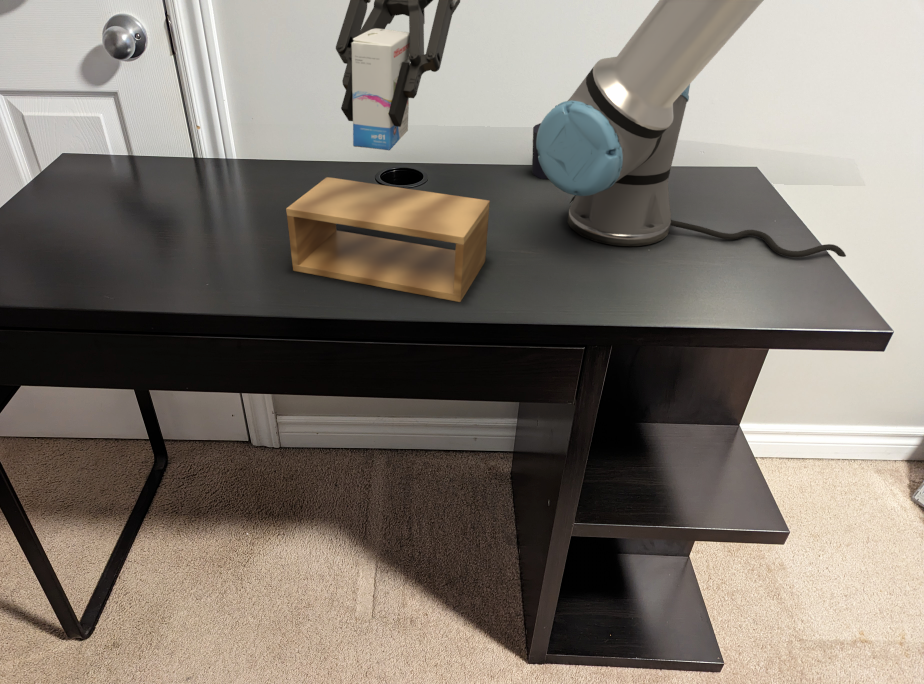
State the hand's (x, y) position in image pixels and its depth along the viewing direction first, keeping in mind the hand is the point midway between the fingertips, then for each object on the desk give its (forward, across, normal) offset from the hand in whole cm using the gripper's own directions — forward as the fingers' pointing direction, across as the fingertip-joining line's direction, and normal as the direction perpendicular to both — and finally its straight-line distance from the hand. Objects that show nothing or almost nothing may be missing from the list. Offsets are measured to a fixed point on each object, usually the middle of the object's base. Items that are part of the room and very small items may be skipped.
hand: (371, 117), depth 80 cm
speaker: (-18, -15, -47) cm, 53 cm away
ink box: (0, 0, -5) cm, 5 cm away
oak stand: (+13, -1, -17) cm, 21 cm away
